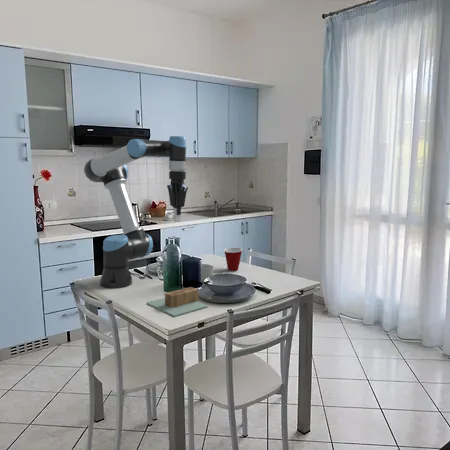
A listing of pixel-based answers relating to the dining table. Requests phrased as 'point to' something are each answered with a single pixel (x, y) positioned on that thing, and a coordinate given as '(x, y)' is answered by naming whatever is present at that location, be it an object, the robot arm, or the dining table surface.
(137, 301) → the dining table surface
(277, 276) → the dining table surface
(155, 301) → the rubber mat
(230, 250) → the plastic cup
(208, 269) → the teacup
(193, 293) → the walnut block
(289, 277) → the dining table surface
